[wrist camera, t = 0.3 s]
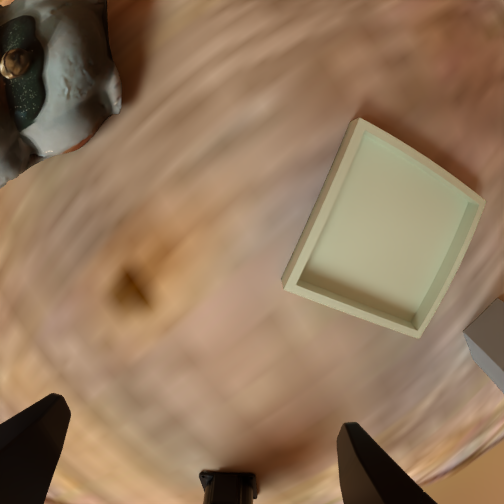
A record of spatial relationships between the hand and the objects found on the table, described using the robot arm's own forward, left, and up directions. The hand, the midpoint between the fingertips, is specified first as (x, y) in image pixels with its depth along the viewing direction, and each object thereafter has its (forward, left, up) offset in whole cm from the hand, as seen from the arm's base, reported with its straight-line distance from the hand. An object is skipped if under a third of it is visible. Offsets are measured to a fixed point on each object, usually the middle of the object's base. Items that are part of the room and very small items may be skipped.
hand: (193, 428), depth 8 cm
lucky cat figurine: (+15, +13, -15) cm, 25 cm away
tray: (+2, -12, -14) cm, 19 cm away
